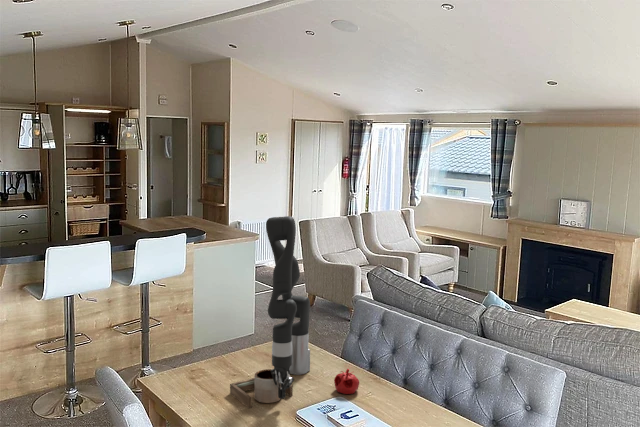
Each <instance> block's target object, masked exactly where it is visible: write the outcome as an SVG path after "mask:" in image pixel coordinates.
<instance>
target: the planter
mask: <svg viewBox="0 0 640 427" xmlns="http://www.w3.org/2000/svg"><path fill="white" fill-rule="evenodd" d="M272 369H273V368H272ZM272 369H270V368H267V369H262V370H261V369H260V370H258V371H256V372H255V373H254V378H255V385H254V389H253V390H254V391H253V392H254V393H253V394H254V396H253V398H254V400H255V401H256V402H259V403H261V404H274V403H277V402H279V401H281V399H280V398H279V397H278V388H277V385H275V383H274V380H273V377H272V374H271V370H272Z"/></svg>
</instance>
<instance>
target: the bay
mask: <svg viewBox="0 0 640 427" xmlns="http://www.w3.org/2000/svg"><path fill="white" fill-rule="evenodd" d="M229 384H230V385H229V394H230V395H231V396H232V397H234V398H235V399H237V401H239V402H240V403H242V404H243V405H244V406H246V407H247V408H248V409H252V408H253V406H252V403H253V402H252V401H253V397H252V396H251V395H249V394H248V393H246V391H250V390H251V391H252V390H254V385H255V377H253V378H248V379H245V380H240V381H235V382H233V383H229ZM293 392H294V389H293V385H292V384H291V386H290V387H289V388H287V389H286V393H285V395H287V396H289V397H293Z"/></svg>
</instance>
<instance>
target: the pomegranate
mask: <svg viewBox="0 0 640 427" xmlns="http://www.w3.org/2000/svg"><path fill="white" fill-rule="evenodd" d="M333 382H334V387H335V390H336V391H337V393H340V394H342V395H343V394H344V395H352V394H355V392H356V391H358V390H359V386H360V380H359V379H358V377H357V376H356V375H355V374H353V371H351V372H350V368H346V369H345V372H344V371H342V370H341V371H340V372H339V373H337V374H336V375H335V377H334V379H333Z"/></svg>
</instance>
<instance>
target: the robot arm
mask: <svg viewBox="0 0 640 427" xmlns="http://www.w3.org/2000/svg"><path fill="white" fill-rule="evenodd" d="M265 228H266V229H265V230H266V234H267V238H268V242H269V245H270V249H271V251H272V255H273V259H274V264H275V265H274V269H273V271H272V273H273V274H272V292H271V296H270V300H269V303H268V307H267V314H268V316H269V317H270V318H271V319H273V320H285V321H284V322H281V323H277V324H275V325H274V326H273V327H272V343H271V344H272V345H271V366H273V368H272V370H271V374H272V377H273V380H274V383H275V385H277V388H278V397H279V398H280V400H283V399H286V395H287V394H286V389H287V388H289V387H290V386H291V385H292V384H293V382H294V381H295V379H294V377H291V375H295V376H298V375H299V376H300V375H305V374H307V373H308V372H310V371H311V349H310V348H309V335H310V334H309V329H310V315H311V302H310V298H309V297H308V296H302V295H293V293H292V291H293V288H294V287H295V286H296V284H297V283H298V281H299V280H300V276H301V271H300V267H299V265H300V264H299V262H298V259H297V258H296V256H295V255H294V254H295V253H294V252H295V243H296V236H297V235H296V234H297V229H296V228H297V227H296V222H295V218H294V217H293V216H292V215H291V216H286V215H285V216H273V217H270V218H268V219H267V220H266V222H265ZM281 241H286V242H285V246H284V245H283V244H282V242H281ZM279 297H281V298H282V299H279ZM296 318H298V319H299V321H297V322H294V320H295V319H296ZM290 374H291V375H290Z"/></svg>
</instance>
